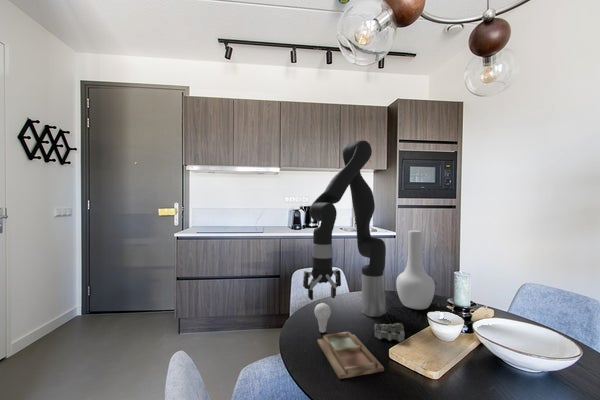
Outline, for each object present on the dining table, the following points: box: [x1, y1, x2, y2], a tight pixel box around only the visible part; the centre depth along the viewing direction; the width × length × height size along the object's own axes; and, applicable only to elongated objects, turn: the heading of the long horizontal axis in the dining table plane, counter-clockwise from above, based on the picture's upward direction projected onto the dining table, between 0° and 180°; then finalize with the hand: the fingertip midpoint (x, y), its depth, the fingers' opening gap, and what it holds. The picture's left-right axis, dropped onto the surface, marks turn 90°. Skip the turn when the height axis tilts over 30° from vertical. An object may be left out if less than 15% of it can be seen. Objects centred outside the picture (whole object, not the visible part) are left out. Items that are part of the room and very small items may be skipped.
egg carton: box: [373, 322, 406, 343], centre depth 100 cm, size 11×8×4 cm
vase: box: [396, 229, 436, 310], centre depth 128 cm, size 17×17×35 cm
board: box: [316, 331, 385, 380], centre depth 88 cm, size 14×20×2 cm
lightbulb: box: [314, 302, 332, 334], centre depth 102 cm, size 6×6×11 cm
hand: (322, 298), depth 102 cm, fingers open, 8 cm apart
